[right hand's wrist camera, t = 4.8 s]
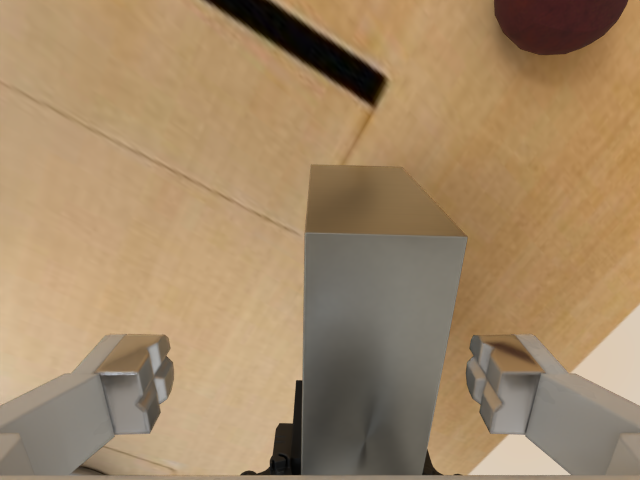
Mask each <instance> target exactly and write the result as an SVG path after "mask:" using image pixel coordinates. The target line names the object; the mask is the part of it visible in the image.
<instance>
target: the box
mask: <svg viewBox="0 0 640 480" xmlns="http://www.w3.org/2000/svg"><path fill="white" fill-rule="evenodd" d="M466 243H467V236H466V235H465V234H464V233H463V232H462V230H461V229H460V228H459V227H458V226H457V225H456V224H455V223H454V222H453V221H452V220H451V219H450V218H449V217H448V216H447V215H446V213H445V212H444V211H443V210H442V209H441V208H440V207H439V206H438V205H437V204H436V203H435V202H434V201H433V200H432V199H431V197H430V196H429V195H428V194H427V193H426V192H425V191H424V190H423V189H422V188H421V187H420V186H419V185H418V184H417V183H416V181H415V180H414V179H413V178H412V177H411V176H410V175H409V174H408V173H407V172H406V171H405V170H404V169H403V168H402V167H381V166H346V165H311V170H310V181H309V192H308V203H307V214H306V225H305V247H304V313H303V378H302V444H301V475H422V473H423V468H424V462H425V457H426V452H427V447H428V441H429V436H430V431H431V426H432V421H433V415H434V410H435V405H436V400H437V395H438V389H439V384H440V379H441V374H442V368H443V363H444V358H445V353H446V348H447V342H448V337H449V332H450V327H451V321H452V316H453V311H454V306H455V301H456V295H457V290H458V285H459V280H460V275H461V269H462V264H463V259H464V254H465V248H466Z"/></svg>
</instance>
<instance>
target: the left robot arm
mask: <svg viewBox="0 0 640 480" xmlns="http://www.w3.org/2000/svg"><path fill="white" fill-rule="evenodd" d="M301 444H302V381H301V380H296V391H295V404H294V418H293V424H290V423H279V425H278V427H277V428H276V433H275V441H274V449H273V456H272V457H271V459H270V467H269V468H268V469H267V470H265V471H263V472H261V473H258V474H256V473H255V472H253V471H245V472H243V473H242V474H241V475H301ZM69 475H103V474H101V473H99V472H96V471H93V470H90V469H87V468H83V467H78V468H76V469H75V470H74V471H73V472H72V473H71V474H69ZM422 475H442V474H440V473H439V472H437V471H436V470H435V468H434V467H433V466H432V463H431V460H430V456H429V453H428V450H427V452H426V457H425V462H424V468H423V473H422ZM454 475H460V474H454Z"/></svg>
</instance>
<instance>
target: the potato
mask: <svg viewBox="0 0 640 480" xmlns="http://www.w3.org/2000/svg"><path fill="white" fill-rule="evenodd" d="M627 2H628V0H494V8H495V16H496V18H497V20H498V23H499V25H500V27H501V29H502V31H503V32H504V34H505V35H506V36H507V37H508V38H509V39H511V40H512V41H513V42H514V43H515V44H516V45H517V46H518V47H519V48H520V49H522V50H525V51H529V52H532V53H535V54H539V55H554V54H566V53H569V52H572V51H575V50H578V49H580V48H582V47H585V46H587V45H589V44H591V43H592V42H594V41H595V40H597V39H599V38H600V37H602V36H603V35H604V34H605V33H606V32H607V31H608V30H609V29H610V28H611V27H612V26H613V25H614V24H615V23H616V22H617V20H618V19H619V17H620V16H621V14H622V12H623V10H624V8H625V7H626V5H627Z"/></svg>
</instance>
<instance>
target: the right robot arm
mask: <svg viewBox="0 0 640 480" xmlns="http://www.w3.org/2000/svg"><path fill="white" fill-rule="evenodd" d="M169 350H170V344H169V339H168V337H167V336H166V335H150V334H109V335H105V336H104V337H103V338H102V340H101V341H100V342H99V343H98V344H97V345H96V346H95V347H94V349H93V350H92V351H91V352H90V353H89V354H88V355H87V356H86V357H85V359H84V360H83V361H82V362H81V363H80V364H79V365H78V366H77V367H76V369H75V370H74V371H73V372H72V373H71V374H63V375H61V376H59V377H57V378H55V379H53V380H51V381H49V382H47V383H45V384H43V385H41V386H39V387H37V388H35V389H33V390H31V391H29V392H27V393H25V394H23V395H21V396H19V397H17V398H15V399H13V400H11V401H9V402H7V403H5V404H3V405H1V406H0V480H640V406H639V405H637V404H635V403H633V402H631V401H629V400H627V399H625V398H623V397H621V396H619V395H617V394H615V393H613V392H611V391H609V390H607V389H605V388H603V387H601V386H599V385H597V384H595V383H593V382H591V381H589V380H587V379H585V378H583V377H581V376H579V375H577V374H569V373H568V372H567V371H566V370H565V369H564V367H563V366H562V365H561V364H560V363H559V362H558V361H557V360H556V359H555V357H554V356H553V355H552V354H551V353H550V352H549V351H548V350H547V348H546V347H545V346H544V345H543V344H542V343H541V342H540V341H539V340H538V338H537V337H536V336H534V335H532V334H511V335H473V337H472V339H471V343H470V350H471V352H472V354H473V355H474V356H473V357H472V358H471V359H470V360H469V361H468V362H467V368H466V380H467V386H468V389H469V392H470V394H471V396H472V398H473V399H474V400H475V401H476V402H478V403H479V404H481V406H480V414H481V416H482V418H483V420H484V422H485V424H486V426H487V428H488V430H489V432H490V434H523V435H526V437H527V438H528V439H529V440H530V441H532V442H533V443H534V444H535V445H536V446H538V447H539V448H540V449H541V450H542V451H543V452H545V453H546V454H547V455H548V456H550V457H551V458H552V459H553V460H554V461H555V462H557V463H558V464H559V465H560V466H561V467H562V468H564V469H565V470H566V471H567V472H568V473H570V474H571V475H69V474H71V473H72V472H73V471H74V470H75V469H76V468H78V467H79V466H80V465H81V464H82V463H84V462H85V461H86V460H87V459H88V458H90V457H91V456H92V455H93V454H94V453H96V452H97V451H98V450H99V449H100V448H101V447H103V446H104V445H105V444H106V443H107V442H109V441H110V440H111V439H112V438H113V437H114V435H118V434H150V432H151V430H152V428H153V426H154V424H155V422H156V420H157V418H158V416H159V414H160V406H159V404H161V403H162V402H164V401H165V400H166V399H167V398H168V396H169V394H170V392H171V390H172V385H173V381H174V367H173V362H172V361H171V360H170V359H169V358H168V357H167V356H166V355H167V354H168V352H169Z"/></svg>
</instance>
